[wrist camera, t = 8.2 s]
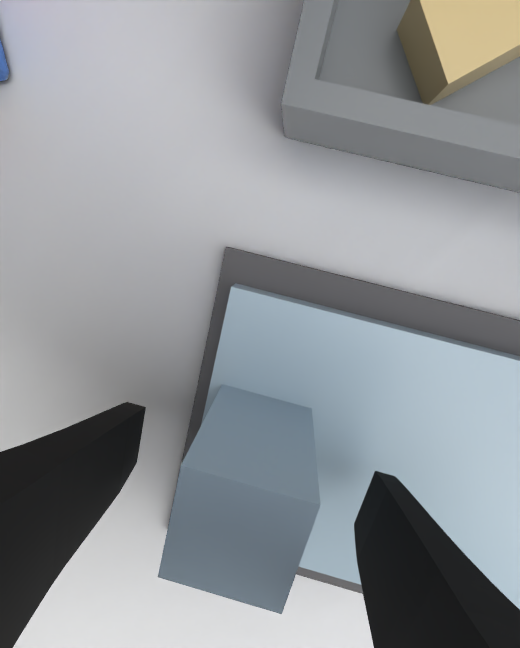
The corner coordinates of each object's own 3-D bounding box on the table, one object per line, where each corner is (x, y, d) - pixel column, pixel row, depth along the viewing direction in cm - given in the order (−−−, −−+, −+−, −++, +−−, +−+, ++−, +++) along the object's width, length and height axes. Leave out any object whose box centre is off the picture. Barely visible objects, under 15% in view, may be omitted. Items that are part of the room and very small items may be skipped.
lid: (696, 401, 10) (1036, 538, 5) (549, 619, 13) (696, 840, 8) (235, 283, 11) (189, 316, 6) (184, 514, 13) (125, 662, 9)
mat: (732, 374, 10) (745, 378, 10) (549, 640, 13) (554, 649, 13) (227, 246, 11) (225, 247, 10) (169, 530, 14) (166, 536, 14)
